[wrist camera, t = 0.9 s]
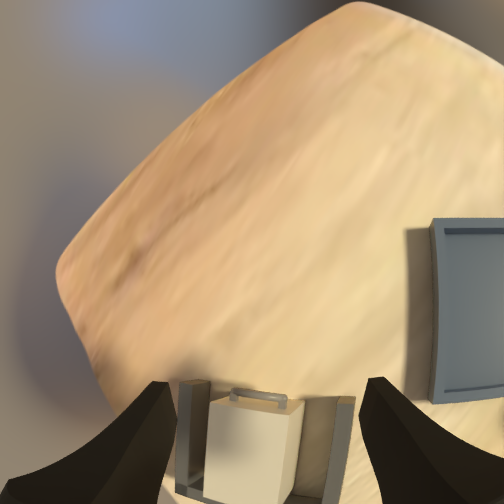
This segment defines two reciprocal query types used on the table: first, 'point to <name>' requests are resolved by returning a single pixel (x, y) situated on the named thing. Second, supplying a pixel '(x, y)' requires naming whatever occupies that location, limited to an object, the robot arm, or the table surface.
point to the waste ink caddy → (252, 447)
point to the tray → (467, 309)
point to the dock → (194, 446)
